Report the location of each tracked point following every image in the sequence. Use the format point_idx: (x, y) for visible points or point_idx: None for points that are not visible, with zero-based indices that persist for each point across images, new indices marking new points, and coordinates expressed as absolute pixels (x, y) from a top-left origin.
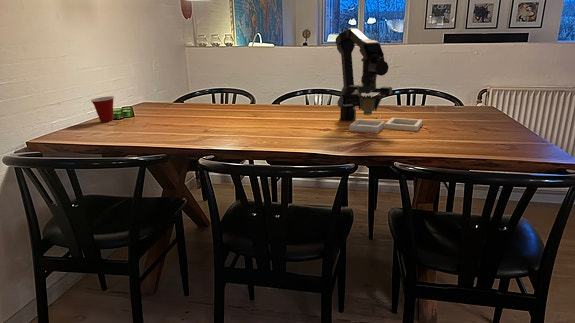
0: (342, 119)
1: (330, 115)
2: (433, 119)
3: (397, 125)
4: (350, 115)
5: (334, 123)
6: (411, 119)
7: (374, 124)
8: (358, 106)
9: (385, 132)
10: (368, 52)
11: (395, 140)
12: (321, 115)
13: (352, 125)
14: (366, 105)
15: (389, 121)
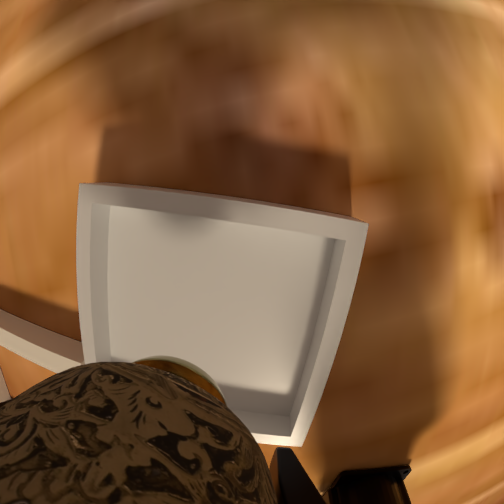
0: (394, 469)
1: (428, 500)
2: None
3: (20, 334)
4: (353, 500)
5: (447, 401)
6: None
7: None
8: (308, 482)
9: (65, 227)
10: None
11: (25, 58)
12: (462, 485)
13: (336, 217)
14: (85, 404)
15: None
